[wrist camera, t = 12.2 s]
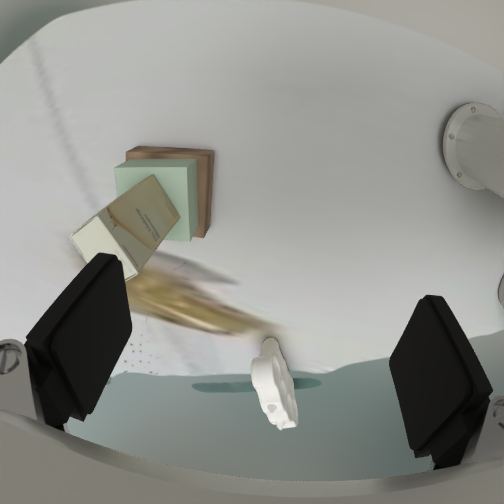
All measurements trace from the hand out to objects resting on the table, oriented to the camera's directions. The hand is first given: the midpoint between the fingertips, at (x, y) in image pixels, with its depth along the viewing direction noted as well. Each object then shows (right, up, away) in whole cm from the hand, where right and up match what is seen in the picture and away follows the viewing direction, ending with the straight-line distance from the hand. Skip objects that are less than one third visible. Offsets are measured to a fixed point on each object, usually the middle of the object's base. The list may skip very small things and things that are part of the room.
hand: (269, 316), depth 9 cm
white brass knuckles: (+5, -18, +48) cm, 51 cm away
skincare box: (-12, +8, +26) cm, 29 cm away
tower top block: (-12, +10, +30) cm, 33 cm away
